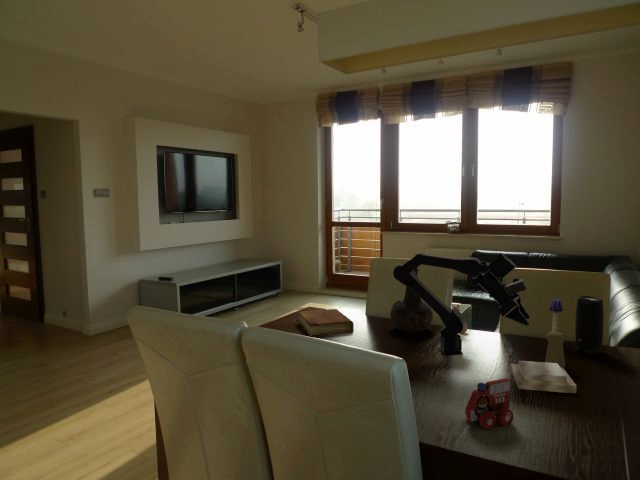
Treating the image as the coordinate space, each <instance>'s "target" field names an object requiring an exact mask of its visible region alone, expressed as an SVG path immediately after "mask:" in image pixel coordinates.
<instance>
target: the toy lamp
mask: <svg viewBox="0 0 640 480" xmlns="http://www.w3.org/2000/svg"><path fill="white" fill-rule="evenodd" d="M549 305H550V306H549V308H548V310H549V311H550V312H552V313H553V315H552V324H551V325H552V327H551V332H558V321H559V313H562V312H563V311H564V308H563V304H562V301H561V300H560V299H555V298H553V299H551V302H550V304H549ZM547 343H549V342H548V341H547Z"/></svg>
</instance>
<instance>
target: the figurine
mask: <svg viewBox="0 0 640 480" xmlns="http://www.w3.org/2000/svg"><path fill="white" fill-rule="evenodd" d="M455 307H456V308H457V309H458V310H459V312H460V304H457V305H454V306H453V307H452V309H454V308H455ZM460 313H461V312H460ZM467 331H468V325H467V324H466V325H465V327H464V328H463V330H462V331H461V332H460V333H461V334H464V333H466V332H467Z"/></svg>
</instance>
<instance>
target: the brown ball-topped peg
mask: <svg viewBox="0 0 640 480" xmlns="http://www.w3.org/2000/svg"><path fill="white" fill-rule="evenodd" d="M546 340H547V343H548V342H549V343H548V344H547V350H546V355H545V361H544V362H546V363H557V364H558V365H559V366H560V367H563V368H564V369H565V368H566V363H565V362H566V361H565V353H564V345H563V344H564V342H565V335H564V334H563V333H562V332H559V331H557V332H552V331H549V332H548V333H547V334H546Z"/></svg>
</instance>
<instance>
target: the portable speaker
mask: <svg viewBox="0 0 640 480" xmlns="http://www.w3.org/2000/svg"><path fill="white" fill-rule="evenodd" d="M604 313H605V312H604V300H603V298H602V297H595V296H591V295H579V296H578V297H577V300H576V307H575V321H574V322H575V325H574V326H575V328H574V329H575V330H574V331H575V336H574V337H575V350H576V351H579V350H580V351H582V352H584V353H585V354H587V355H598V354H599V353H600V352H601V351H602V349H603V348H602V346H603V340H604V339H603V338H604V323H605V322H604V317H605V314H604Z"/></svg>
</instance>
